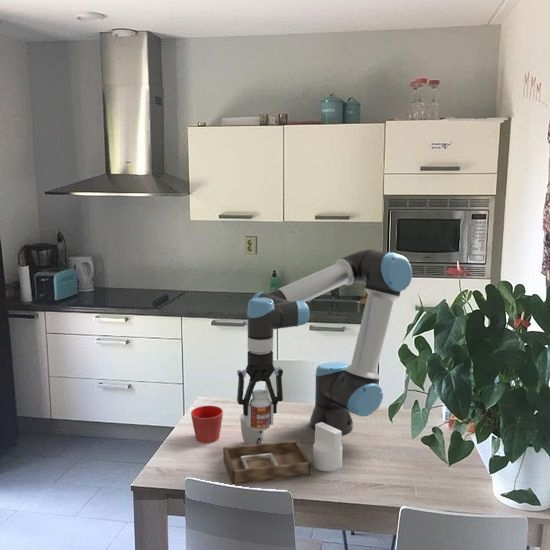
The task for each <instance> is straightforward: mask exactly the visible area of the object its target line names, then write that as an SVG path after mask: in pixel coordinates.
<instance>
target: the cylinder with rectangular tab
mask: <svg viewBox="0 0 550 550" xmlns="http://www.w3.org/2000/svg"><path fill="white" fill-rule="evenodd" d="M341 434H342V431H340V430H338V429H336V428H334V427H332V426H329V425H327V424H325V423H323V422H320V423H317V424H315V431H314V443H313V444H312V446H313V447H312V465H313V467H314V468H315V469H317V470H319V471H322V472H334V471H338V470H339V469H341V468H342V466H343V445H342V435H341Z"/></svg>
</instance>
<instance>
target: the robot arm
mask: <svg viewBox="0 0 550 550" xmlns="http://www.w3.org/2000/svg"><path fill="white" fill-rule="evenodd" d="M412 278H413V268H412V265H411V264H410V262H409V259H408V258H407V257H405V256H403V255H401V254H398V253H395V252H391V251H383V250H377V249H373V248H372V249H371V248H367V249H362V250H358V251H356V252H353V253H351V254H348V255H345V256H343V257H341V258H339V259H337V260H336V261H335V263H334V264H332V265H330V266H327V267H324V268H323V269H321V270H319V271H316V272H314V273H311V274H309V275H307V276H304V277H302V278H300V279H297V280H296V281H293V282H291V283H289V284H286V285H284V286H281V287H280V288H277V289H275V290H272V291H270V292H265V291H259V292H257V293H255V294H254V295H253V297H252V298H251V299H249V301H248V303H247V304H248V305H247V311H246V316H247V350H248V351H247V365H246V367H245V369H243V370H237V376H238V383H237V395H236V402H237V403H238V405H242V410H243V412H242V414H243V413H244V415H245V416H247V426H248V427H251V406H250V400H251V399H252V392H253V391H254V390H255V386H256V384H257V383H259V382H265V385H266V387H267V392H268V395H269V396H270V426H274V414H277V412H278V410H277V406H278V403H280V402H283V400H284V396H283V395H284V394H283V381H282V379H283V378H282V377H283V373H284V370H283V369H282V368H281V367H279V366H278V367H275V366H274V352H273V349H274V330H277V329H279V330H280V329H286V328H294V327H299V326H304V325H306V324H307V323H308V321H309V320H310V308H309V306H308V304H307V303H306V302H308V301H310V300H313V299H314V298H317V297H319V296H322V295H324V294H326V293H328V292H330V291H333V290H334V289H337V288H339V287H341V286H345V285H346V286H351V285H353V284H355V283H356V284H357V283H365V286H364V291H365V292H366V293H367V297H366V301H365V306H364V309H363V313H362V314H363V315H362V317H361V323H360V327H359V330H358V335H357V339H356V343H355V348H354V351H353V354H352V359H351V363H350V365H349V363H345V362H339V361H332V362H331V361H329V362H325V363H321V364H319V365H317V367H316V369H315V403H314V407H313V410H312V413H311V415H310V419H309V428H310V429H311V430H312V431H313V432H315V424H317V423H320V422H323V423H325V424H327V425H329V426H332V427H334V428H336V429H338V430H340V431H342V434H341V436H342V435H346V434H348V433H350V432H351V431H353V428H354V427H353V426H354V422H353V418H352V414H353V415H356V416H358V417H367V416H370V415H372V414H373V413H374V412H376V411H377V410H378V409H379V408H380V406H381V404H382V402H383V398H384V392H383V390H382V388H381V386H380V385H379V383H380V379H381V377H380V375H379V372H378V366H379V363H380V359H381V354H382V350H383V346H384V341H385V338H386V334H387V331H388V330H387V329H388V324H389V322H390V318H391V317H390V316H391V313H392V311H393V310H392V309H393V306H394V305H393V304H394V301H395V300H397V299H399V298H400V296H401V292H402V291H405V290H406V289H407V287H409V286H410V284H411V283H412ZM273 373H274V375H275V385H276V386H275V387H276V394H275V390H274V388H273V385H272V381H271V378H270V377H271V376H272V374H273ZM247 375H248V376H249V382H248V385H247V388H246V389H245V390H246V391H245V393H244V388H245V378H246V376H247ZM243 397H244V398H243Z"/></svg>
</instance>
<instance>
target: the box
mask: <svg viewBox="0 0 550 550" xmlns="http://www.w3.org/2000/svg"><path fill="white" fill-rule="evenodd" d="M222 457H223V459H222V460H223V462H224V465H225V469H226V471H227V475H228V478H229V480H230V484H231V485H232V484H235V485H242V484H250V483H259V482H260V483H261V482H269V481H278V480H287V479H288V480H289V479H294V478H295V479H297V478H306V477H311V476H312V465H313V462H312V461H310V459H309V457H308V455H307V453H306V452H305V451H304V449H303V447H302V446H301V444H300V442H299V441H298V440H285V441H277V442H267V443H261V444H254V445H245V444H244V445H235V446H226V447H225V446H224V447H223V449H222Z"/></svg>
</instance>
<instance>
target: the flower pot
mask: <svg viewBox="0 0 550 550" xmlns="http://www.w3.org/2000/svg"><path fill="white" fill-rule="evenodd" d="M223 413H224V409H222V407H220V406H215V405H202V406H201V405H200V406H197V407H195V408H193V409H192V410H191V412H190V415H191V421H192V426H193V430H194V431H193V432H194V435H195V440H196V441H197V442H198V443H200V444H211V443H215V442H216V441H218V440H220V436H221V429H222V421H223V416H224V415H223Z"/></svg>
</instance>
